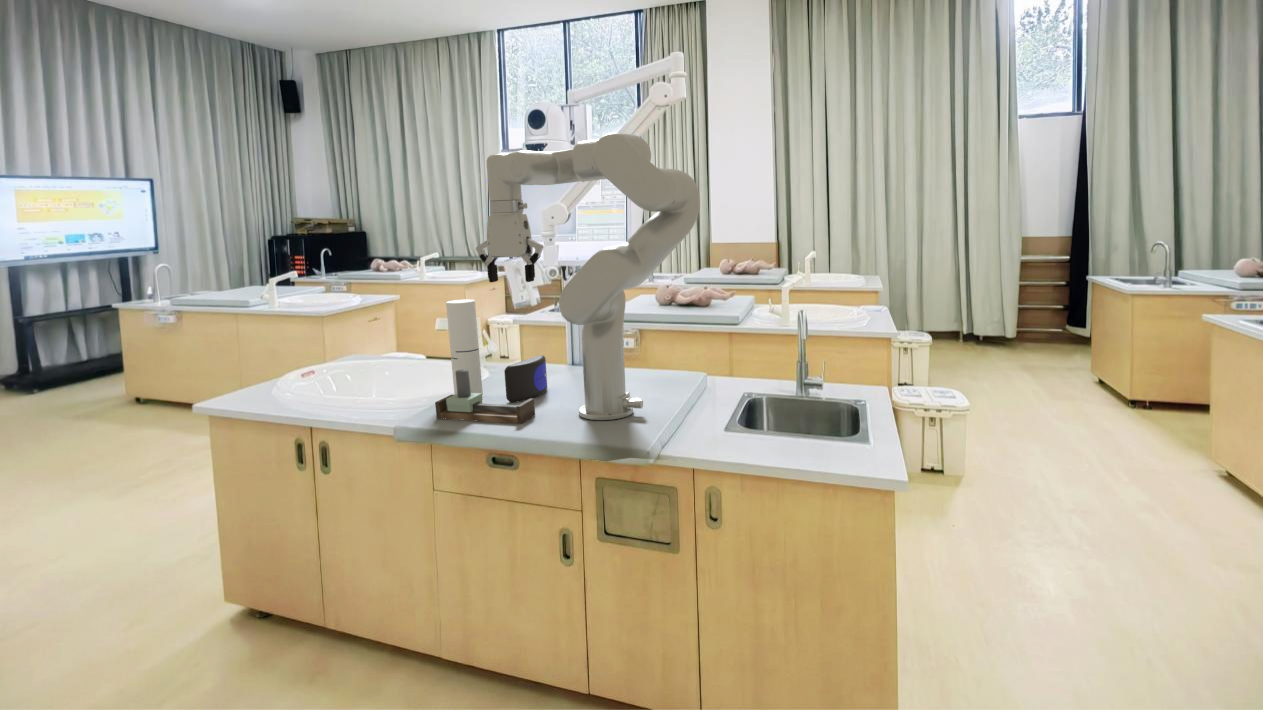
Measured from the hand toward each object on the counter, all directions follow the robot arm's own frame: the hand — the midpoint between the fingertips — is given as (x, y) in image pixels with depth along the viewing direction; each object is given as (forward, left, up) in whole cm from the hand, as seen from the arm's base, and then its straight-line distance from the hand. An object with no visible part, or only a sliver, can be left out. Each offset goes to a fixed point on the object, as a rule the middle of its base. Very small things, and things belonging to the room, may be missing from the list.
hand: (511, 281), depth 174 cm
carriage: (+8, +12, -28) cm, 32 cm away
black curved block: (+2, -8, -31) cm, 32 cm away
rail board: (+3, +12, -30) cm, 33 cm away
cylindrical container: (+17, -4, -31) cm, 35 cm away
